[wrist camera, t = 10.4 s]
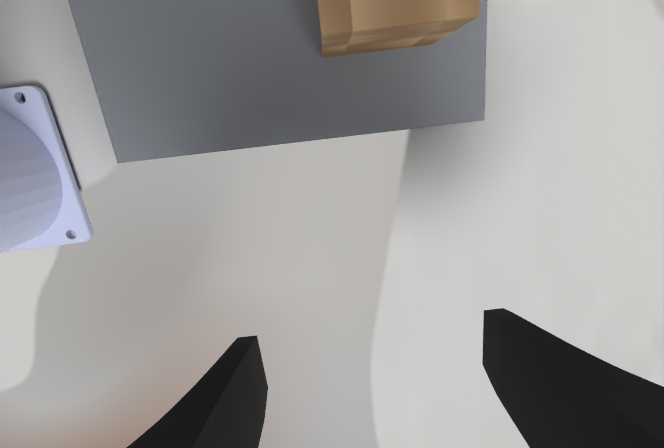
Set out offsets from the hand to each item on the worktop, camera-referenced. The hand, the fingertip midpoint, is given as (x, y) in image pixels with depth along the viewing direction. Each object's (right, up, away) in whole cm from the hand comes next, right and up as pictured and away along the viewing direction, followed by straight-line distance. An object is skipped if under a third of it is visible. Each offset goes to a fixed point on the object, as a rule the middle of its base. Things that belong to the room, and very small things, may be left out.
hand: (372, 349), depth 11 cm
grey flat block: (-4, +14, +5) cm, 15 cm away
